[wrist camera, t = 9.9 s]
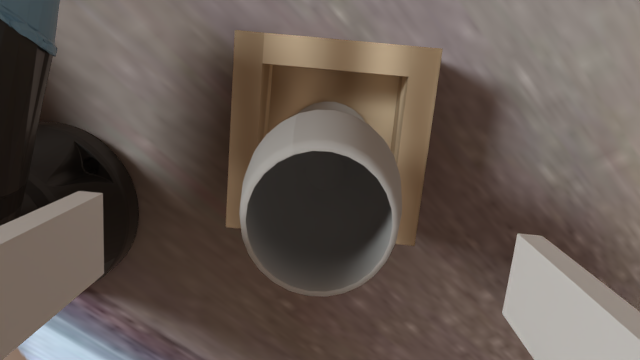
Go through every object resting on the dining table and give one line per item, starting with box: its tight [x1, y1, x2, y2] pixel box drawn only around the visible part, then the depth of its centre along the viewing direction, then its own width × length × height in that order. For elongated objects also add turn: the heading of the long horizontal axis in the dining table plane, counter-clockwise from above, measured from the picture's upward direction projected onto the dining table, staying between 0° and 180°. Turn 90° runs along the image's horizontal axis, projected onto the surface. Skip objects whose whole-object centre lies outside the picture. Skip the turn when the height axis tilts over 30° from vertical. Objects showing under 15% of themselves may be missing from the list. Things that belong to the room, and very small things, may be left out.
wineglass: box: [239, 102, 402, 297], centre depth 27 cm, size 8×8×21 cm
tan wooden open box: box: [226, 30, 442, 246], centre depth 36 cm, size 14×14×7 cm
